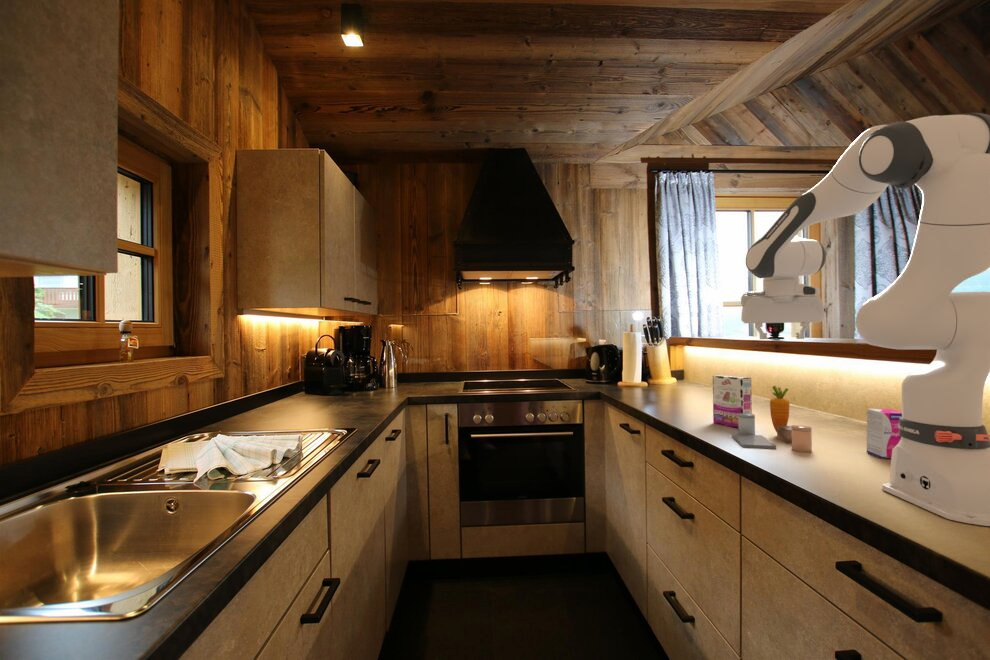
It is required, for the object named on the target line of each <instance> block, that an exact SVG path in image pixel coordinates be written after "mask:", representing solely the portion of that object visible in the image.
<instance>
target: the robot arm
mask: <svg viewBox="0 0 990 660" xmlns="http://www.w3.org/2000/svg"><path fill="white" fill-rule="evenodd" d="M889 185H891V186H893V187H895V188H898V189H902V190H905V189H908V188H910V187H912V186H914V185H915V186H916V187H917V188H919V190H920V191H921V195H922V203H921V209H920V213H919V219H918V223H917V228H916V234H915V238H914V241H913V245H912V249H911V253H910V256H909V259H908V261H907V263H906V265H905V267H904V268H903V270H902V272H901V274H900V275H899V276H898V277H897V278H896V279H895V280H894V281H893V282H892V283H891V284H890V285H889V286H888V287H886V289H884V290H883V291H881V292H880V293H879V294H876V295H874V296H873V297H871V298H870V299H867V300H866V301H865V302H864V303H863V304H862V305H861V307H860V308H859V309H858V312H857V314H856V318H855V326H856V331H857V333H858V335H859V336H860V337H861V338H862V340H863V341H865V343H866V344H868V345H870V346H874V347H881V348H886V349H893V350H936V354H935V356H934V358H933V360H932V361H931V362H930V363H929V364H928V365H926V366H925V367H921V368H920V369H919V368H918V369H916V370H914V371H912V372H911V373H909V374H908V375H906V377H905V378H904V379H903V381H902V383H901V412H902V417H900V418H899V424H898V428H899V435H900V436H901V439H900V441H899V443H898V444H897V445H896V446H895V447H894V448H893V450H892V457H891V459H890V469H889V481H888V482H885V483H883V484H882V486H881V487H882V488H881V489H882V491H885V492H887V493H889V494H891V495H894V496H896V497H898V498H900V499H902V500H905V501H906V502H909V503H912V504H913V505H915V506H918V507H920V508H922V509H925V510H926V511H929V512H931V513H932V514H936V515H938V516H941V517H943V518H945V519H947V520H951V521H955V522H959V523H964V524H969V525H970V524H971V525H972V524H973V525H976V526H984V527H985V526H986V527H990V434H989V433H988V432H987V428H986V426H985V425H984V424H983V401H984V390H985V389H984V388H985V384H986V381H987V379H988V376H989V374H990V291H961V292H959V291H958V292H953V291H954V290H955V288H956V287H957V286H959V285H960V284H962V283H963V282H964V281H967V280H968V279H969V278H970V279H971V278H972V277H975V276H977V275H979V274H982V273H984V272H986V271H987V270H988V269H990V114H986V113H980V112H965V113H961V114H946V115H928V116H923V117H918V118H914V119H911V120H910V119H909V120H906V121H896V122H892V123H890V124H878V125H875V126H872V127H870V128H867V129H866V130H864V131H863V132H862V133H861V134H860V135H859V136H858V137H857V138H856V139H855V140H854V141H853V142H852V143H851V144H850V145H849V146H848V148H847V149H846V150H845V151H844V152H843V154H842V155H841V156H840V157H839V158H838V160H837V162H836V163H835V165H833V167H832V169H831V170H830V171H829V173H827V175H826V176H825V177H824V178H822V180H820V181H819V182H818V183H817V184H816V185H814V186H813V187H812V188H811V189H809V190H808V191H806V192H804V193H803V194H801V195H799V196H798V197H797V198H795V200H793V202H792V203H791V204H790V205H789V206H788V207H787V208H786V209H785V210H784V211H783V212H782V214H781V215H780V216H779V217H778V218H777V220H776V221H775V222H774V223H773V224H772V225H771V226H770V228H769V229H768V230H767V231H766V232H765V234H764V235H763V236H761V238H759V239H758V240H756V241H755V242H754V243H753V244H752V245H751V247H750V248H749V249H748V251H747V252H746V255H745V265H746V268H747V269H748V271H749V272H750V274H753V276H754V277H756V278H758V279H762V288H763V289H762V291H747V292H746V293H743V295H741V297H740V304H741V306H742V309H741V322H742V323H743V324H754V328H755V329H756V331H757V332H758V334H759V339H760V340H767V339H768V332H764V330H763V329H762V327H763V324H782V323H783V324H785V323H787V324H788V323H789V324H790V323H798V324H799V323H800V327H802V328H800V331H799V332H795V333H796V334H795V335H796V337H795V338H796V340H805V333H806V331H807V330H808V329H809V327H810V323H821V322H823V320H824V319H825V311H824V310H825V309H824V304H823V300H822V298H820V296H819V295H820V293H821V290H820V288H819V287H816V286H812V285H807V284H804V283H800V277H801V276H805V277H807V276H811V275H815V274H817V273H818V272H820V271H821V269H823V267H824V266H825V264H826V261H827V260H826V259H827V251H826V249H825V247H824V245H823V244H822V243H821V241H818V240H815V239H809V238H803V237H799V236H798V234H799V233H800V232H802V231H803V230H804V229H806V228H808V227H811V226H812V225H816V224H818V223H819V224H820V223H822V222H825V221H830V220H835V219H840V218H845V217H849V216H853V215H856V214H859V213H861V212H863V211H865V210H866V209H867V208H869V207H871V205H872V204H874V203H875V202H876V201H877V200H878V199H879V198H880V197H881V195H882V194H883V193H884V192H885V190H886V189H887V187H888V188H889Z"/></svg>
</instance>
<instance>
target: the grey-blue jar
mask: <svg viewBox="0 0 990 660" xmlns="http://www.w3.org/2000/svg"><path fill="white" fill-rule="evenodd" d="M737 429H738V434H739V435H756V415H755V414H754V413H752V414H750V413H739V414H738V428H737Z"/></svg>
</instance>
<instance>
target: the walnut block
mask: <svg viewBox="0 0 990 660" xmlns="http://www.w3.org/2000/svg"><path fill="white" fill-rule="evenodd" d="M776 439H777V440H778V441H781V442H784V443H787V444H791V445H792V425H787V426H777V432H776Z"/></svg>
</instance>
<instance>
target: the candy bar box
mask: <svg viewBox="0 0 990 660" xmlns="http://www.w3.org/2000/svg"><path fill="white" fill-rule="evenodd" d="M712 403H713V404H712V407H713V408H712V411H713V412H712V413H713V414H712V415H713V416H712V417H713V423H714V424H716V425H720V426H725V427H731V428H736V429H738V414H739V413H750V414H753V413H752V409H753V408H752V404H753V403H752V377H750V376H737V375H725V374H724V375H722V374H721V375H720V374H717V375H712Z"/></svg>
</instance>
